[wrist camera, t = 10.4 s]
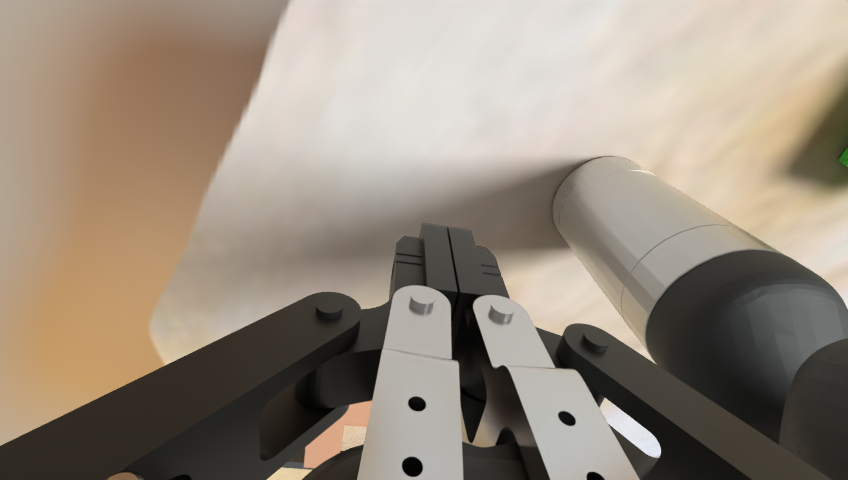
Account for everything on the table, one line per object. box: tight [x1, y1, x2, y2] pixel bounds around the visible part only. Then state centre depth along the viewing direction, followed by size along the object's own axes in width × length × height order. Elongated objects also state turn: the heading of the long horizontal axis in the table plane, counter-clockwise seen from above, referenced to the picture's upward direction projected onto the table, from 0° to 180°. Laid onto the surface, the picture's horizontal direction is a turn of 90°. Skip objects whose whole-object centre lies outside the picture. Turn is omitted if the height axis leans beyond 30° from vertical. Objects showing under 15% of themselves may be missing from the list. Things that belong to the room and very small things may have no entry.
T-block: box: [304, 401, 372, 468], centre depth 49 cm, size 12×12×4 cm
